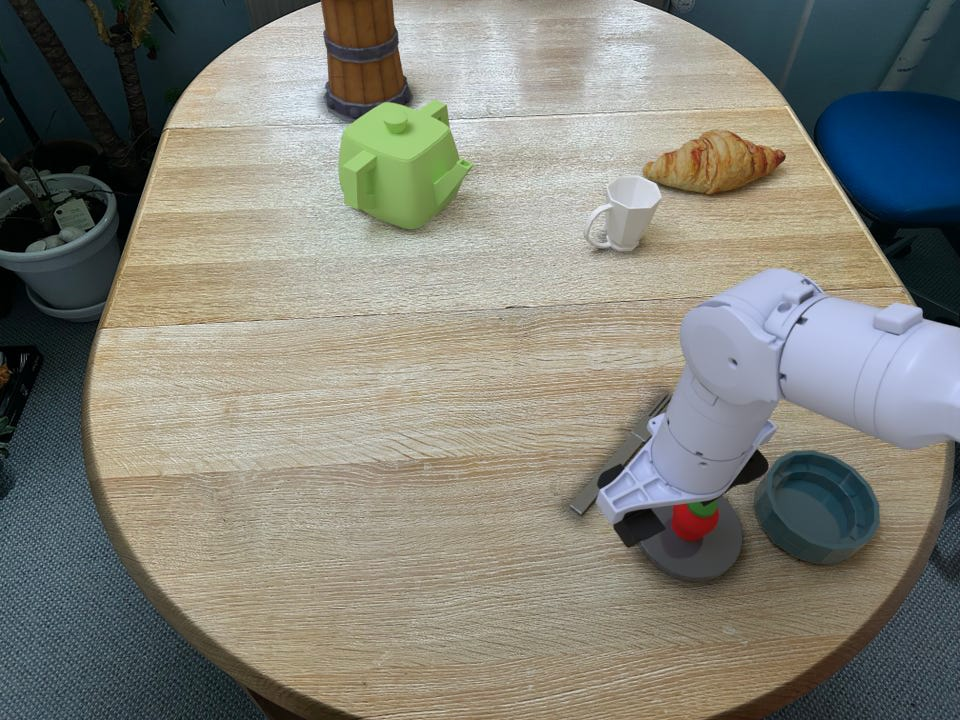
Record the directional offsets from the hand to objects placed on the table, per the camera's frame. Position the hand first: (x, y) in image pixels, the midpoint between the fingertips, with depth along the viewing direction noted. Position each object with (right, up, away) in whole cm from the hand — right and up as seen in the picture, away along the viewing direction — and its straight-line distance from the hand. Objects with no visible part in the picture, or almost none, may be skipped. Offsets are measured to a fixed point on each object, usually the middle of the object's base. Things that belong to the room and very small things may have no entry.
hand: (662, 515), depth 55 cm
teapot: (-24, +34, +39) cm, 57 cm away
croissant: (+19, +40, +44) cm, 62 cm away
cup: (+3, +28, +35) cm, 44 cm away
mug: (-34, +57, +57) cm, 87 cm away
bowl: (+17, -3, +11) cm, 20 cm away
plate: (+5, -4, +9) cm, 11 cm away
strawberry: (+5, -3, +9) cm, 10 cm away
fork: (+1, +3, +15) cm, 15 cm away
